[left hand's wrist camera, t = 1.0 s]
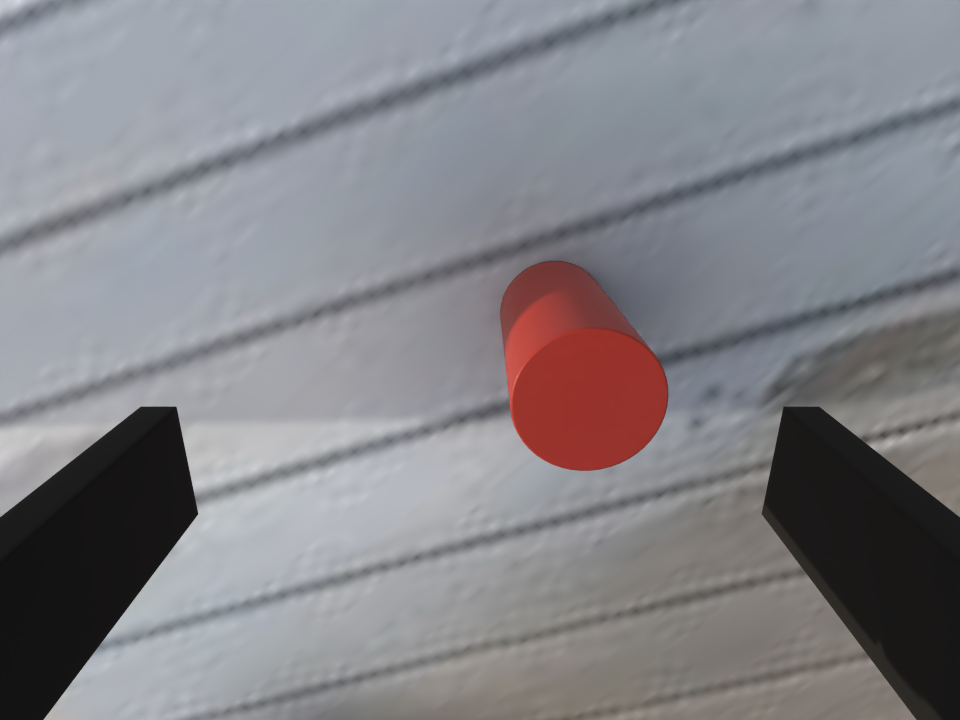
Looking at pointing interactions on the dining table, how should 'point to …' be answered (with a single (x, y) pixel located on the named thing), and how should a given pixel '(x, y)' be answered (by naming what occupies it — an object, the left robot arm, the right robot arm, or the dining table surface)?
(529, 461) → the dining table surface
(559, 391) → the canister
